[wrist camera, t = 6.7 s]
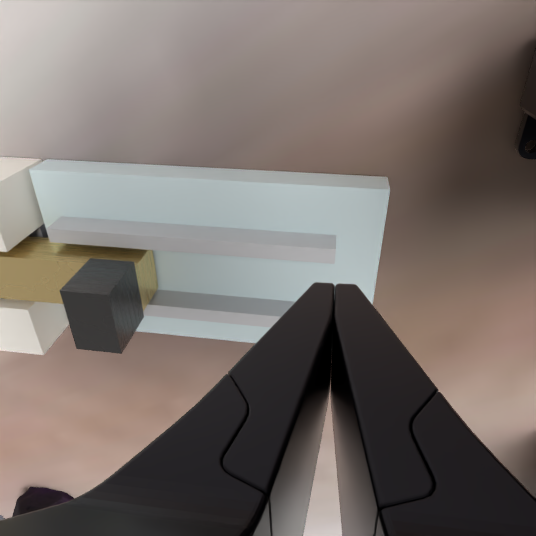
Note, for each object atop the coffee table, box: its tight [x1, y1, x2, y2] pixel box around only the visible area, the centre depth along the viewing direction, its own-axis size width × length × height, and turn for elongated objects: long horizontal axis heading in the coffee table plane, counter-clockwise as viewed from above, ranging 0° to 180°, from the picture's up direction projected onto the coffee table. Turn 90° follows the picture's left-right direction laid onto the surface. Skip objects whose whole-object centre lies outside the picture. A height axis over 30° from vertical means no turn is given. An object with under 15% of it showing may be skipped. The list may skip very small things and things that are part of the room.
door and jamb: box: [0, 157, 390, 355], centre depth 22 cm, size 22×9×4 cm, turn 90°
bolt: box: [0, 236, 158, 354], centre depth 20 cm, size 10×3×4 cm, turn 90°
